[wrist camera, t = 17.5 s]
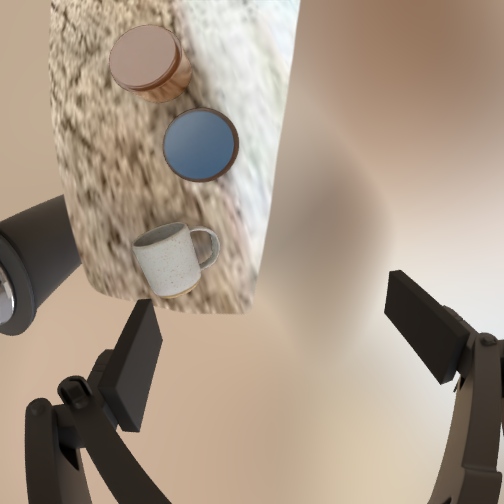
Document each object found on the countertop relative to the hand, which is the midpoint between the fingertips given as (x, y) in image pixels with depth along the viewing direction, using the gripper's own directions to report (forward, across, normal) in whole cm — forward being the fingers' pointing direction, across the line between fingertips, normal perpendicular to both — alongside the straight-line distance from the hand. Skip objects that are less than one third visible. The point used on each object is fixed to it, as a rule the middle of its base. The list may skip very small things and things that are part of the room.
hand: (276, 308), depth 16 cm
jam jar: (+27, -10, +19) cm, 34 cm away
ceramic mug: (+27, -10, -5) cm, 29 cm away
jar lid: (+25, -5, +9) cm, 27 cm away
